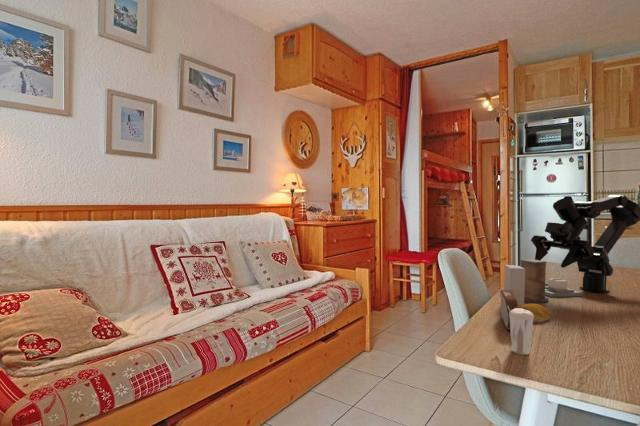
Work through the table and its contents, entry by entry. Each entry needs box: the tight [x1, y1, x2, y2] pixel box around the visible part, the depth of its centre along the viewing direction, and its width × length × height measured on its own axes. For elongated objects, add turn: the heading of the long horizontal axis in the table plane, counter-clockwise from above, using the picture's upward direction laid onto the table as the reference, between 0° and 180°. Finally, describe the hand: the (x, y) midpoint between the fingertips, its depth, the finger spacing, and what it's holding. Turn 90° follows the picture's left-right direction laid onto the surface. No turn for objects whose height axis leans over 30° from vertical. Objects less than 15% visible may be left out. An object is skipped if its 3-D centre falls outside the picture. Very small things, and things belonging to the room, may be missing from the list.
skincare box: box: [503, 264, 525, 306], centre depth 112 cm, size 6×4×12 cm
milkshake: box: [508, 306, 534, 356], centre depth 78 cm, size 4×5×10 cm
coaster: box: [524, 296, 549, 304], centre depth 120 cm, size 9×9×1 cm
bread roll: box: [518, 303, 551, 323], centre depth 101 cm, size 8×9×4 cm
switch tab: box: [547, 277, 568, 290], centre depth 127 cm, size 4×4×4 cm
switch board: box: [545, 282, 584, 298], centre depth 129 cm, size 12×11×2 cm
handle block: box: [520, 258, 547, 300], centre depth 120 cm, size 5×5×12 cm
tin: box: [499, 289, 518, 331], centre depth 95 cm, size 15×3×8 cm, turn 160°
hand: (548, 264), depth 122 cm, fingers open, 9 cm apart
